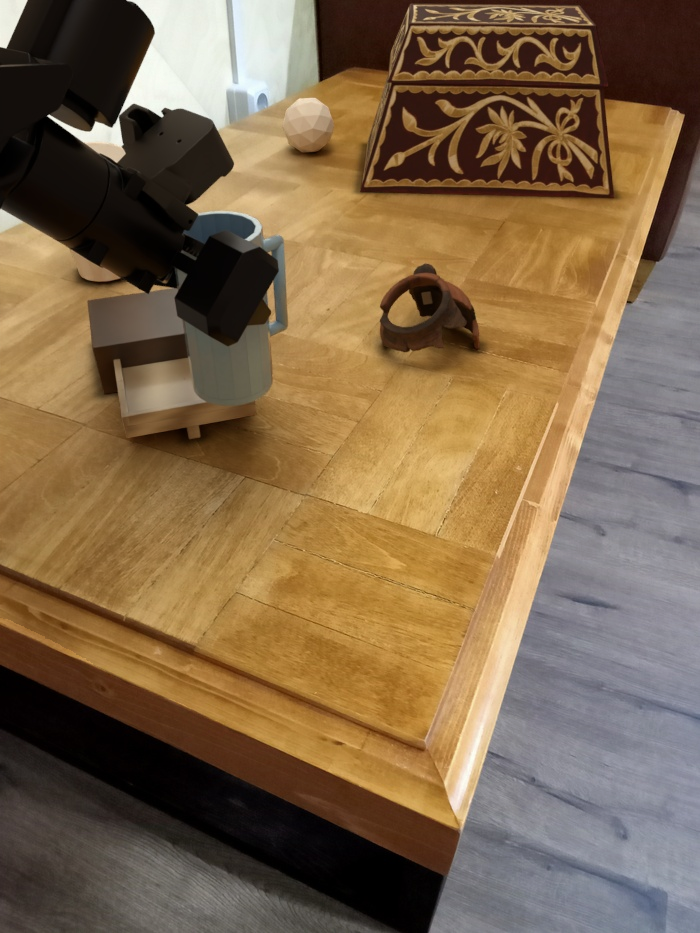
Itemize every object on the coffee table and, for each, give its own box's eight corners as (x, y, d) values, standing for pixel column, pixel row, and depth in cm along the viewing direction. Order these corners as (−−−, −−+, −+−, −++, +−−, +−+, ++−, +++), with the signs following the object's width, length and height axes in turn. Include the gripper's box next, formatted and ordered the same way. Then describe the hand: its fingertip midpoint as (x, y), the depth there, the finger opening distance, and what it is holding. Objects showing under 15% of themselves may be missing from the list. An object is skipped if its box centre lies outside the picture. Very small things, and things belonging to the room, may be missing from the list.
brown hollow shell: (495, 368, 75) (469, 315, 69) (406, 402, 78) (372, 354, 72) (471, 283, 82) (445, 228, 76) (390, 317, 85) (358, 266, 79)
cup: (167, 273, 90) (148, 158, 81) (87, 301, 85) (58, 182, 76) (124, 245, 95) (102, 135, 87) (47, 270, 90) (16, 155, 82)
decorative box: (360, 191, 108) (361, 28, 95) (366, 145, 123) (368, -2, 110) (614, 197, 107) (651, 32, 93) (589, 149, 121) (618, 1, 108)
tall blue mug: (225, 416, 59) (205, 256, 51) (177, 382, 63) (151, 227, 54) (313, 371, 64) (309, 218, 56) (264, 341, 68) (253, 194, 59)
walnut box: (111, 454, 65) (98, 405, 62) (98, 344, 78) (87, 300, 75) (274, 423, 68) (271, 376, 65) (235, 323, 81) (231, 279, 78)
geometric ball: (323, 167, 123) (352, 128, 118) (285, 160, 118) (314, 119, 112) (303, 131, 125) (331, 91, 120) (265, 122, 120) (292, 80, 114)
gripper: (240, 109, 40) (381, 247, 53) (63, 47, 51) (218, 176, 64) (135, 295, 41) (299, 386, 54) (-18, 198, 51) (151, 294, 64)
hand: (239, 301), depth 59 cm, fingers closed on tall blue mug, 6 cm apart
